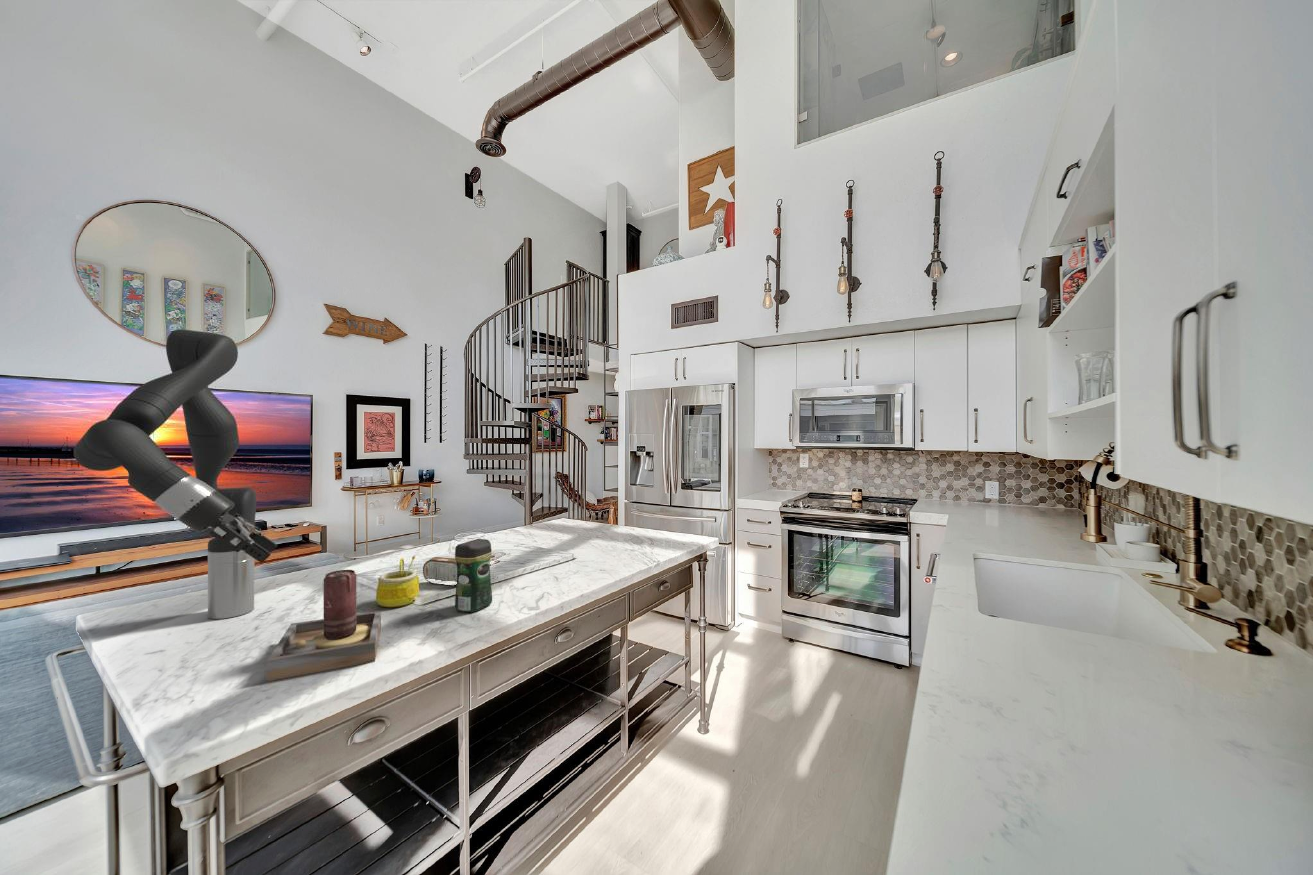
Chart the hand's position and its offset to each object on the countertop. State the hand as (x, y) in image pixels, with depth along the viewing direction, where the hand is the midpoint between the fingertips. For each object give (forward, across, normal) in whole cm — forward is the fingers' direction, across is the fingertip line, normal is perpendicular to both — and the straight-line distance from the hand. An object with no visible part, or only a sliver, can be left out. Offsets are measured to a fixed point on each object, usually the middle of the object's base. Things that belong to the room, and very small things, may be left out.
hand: (270, 553), depth 99 cm
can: (+23, 0, +5) cm, 24 cm away
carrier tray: (+24, -1, +8) cm, 25 cm away
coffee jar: (+46, +10, -14) cm, 50 cm away
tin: (+44, +36, -11) cm, 58 cm away
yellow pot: (+35, +26, -2) cm, 43 cm away
